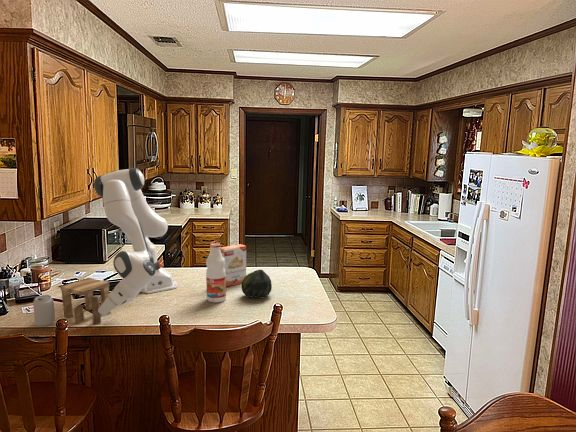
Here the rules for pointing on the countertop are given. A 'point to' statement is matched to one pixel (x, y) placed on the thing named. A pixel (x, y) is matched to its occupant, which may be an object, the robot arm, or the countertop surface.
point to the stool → (85, 289)
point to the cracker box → (234, 263)
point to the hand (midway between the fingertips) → (105, 311)
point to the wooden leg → (96, 309)
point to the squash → (256, 284)
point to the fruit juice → (215, 275)
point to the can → (44, 310)
